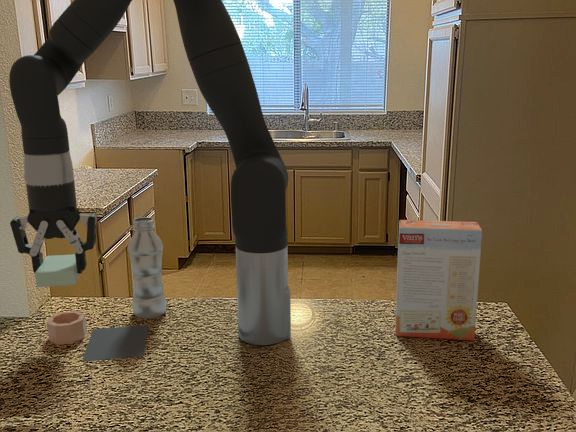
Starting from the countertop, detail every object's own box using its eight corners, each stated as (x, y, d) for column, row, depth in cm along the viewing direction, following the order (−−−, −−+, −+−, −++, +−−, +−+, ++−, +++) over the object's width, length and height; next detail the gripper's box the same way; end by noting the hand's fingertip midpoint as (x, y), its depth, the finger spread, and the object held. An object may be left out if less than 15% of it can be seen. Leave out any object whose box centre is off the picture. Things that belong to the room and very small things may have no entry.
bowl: (88, 332, 105) (86, 310, 104) (83, 347, 100) (80, 324, 99) (54, 335, 104) (52, 312, 103) (47, 350, 99) (44, 327, 98)
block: (83, 266, 104) (82, 253, 103) (74, 284, 95) (72, 270, 95) (49, 268, 103) (47, 255, 102) (36, 287, 94) (34, 273, 94)
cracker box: (470, 327, 106) (478, 220, 101) (474, 342, 100) (484, 229, 95) (394, 322, 109) (399, 217, 103) (394, 336, 103) (399, 226, 97)
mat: (148, 329, 106) (148, 324, 106) (144, 361, 95) (144, 355, 95) (93, 334, 105) (93, 329, 104) (82, 367, 93) (81, 361, 93)
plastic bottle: (140, 309, 115) (132, 214, 110) (172, 311, 114) (166, 215, 109) (127, 323, 109) (118, 223, 104) (161, 325, 108) (153, 224, 103)
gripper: (98, 173, 99) (106, 263, 104) (10, 176, 97) (23, 268, 101) (91, 182, 92) (100, 278, 96) (-3, 185, 90) (10, 284, 94)
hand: (60, 273), depth 99 cm, fingers closed on block, 6 cm apart
